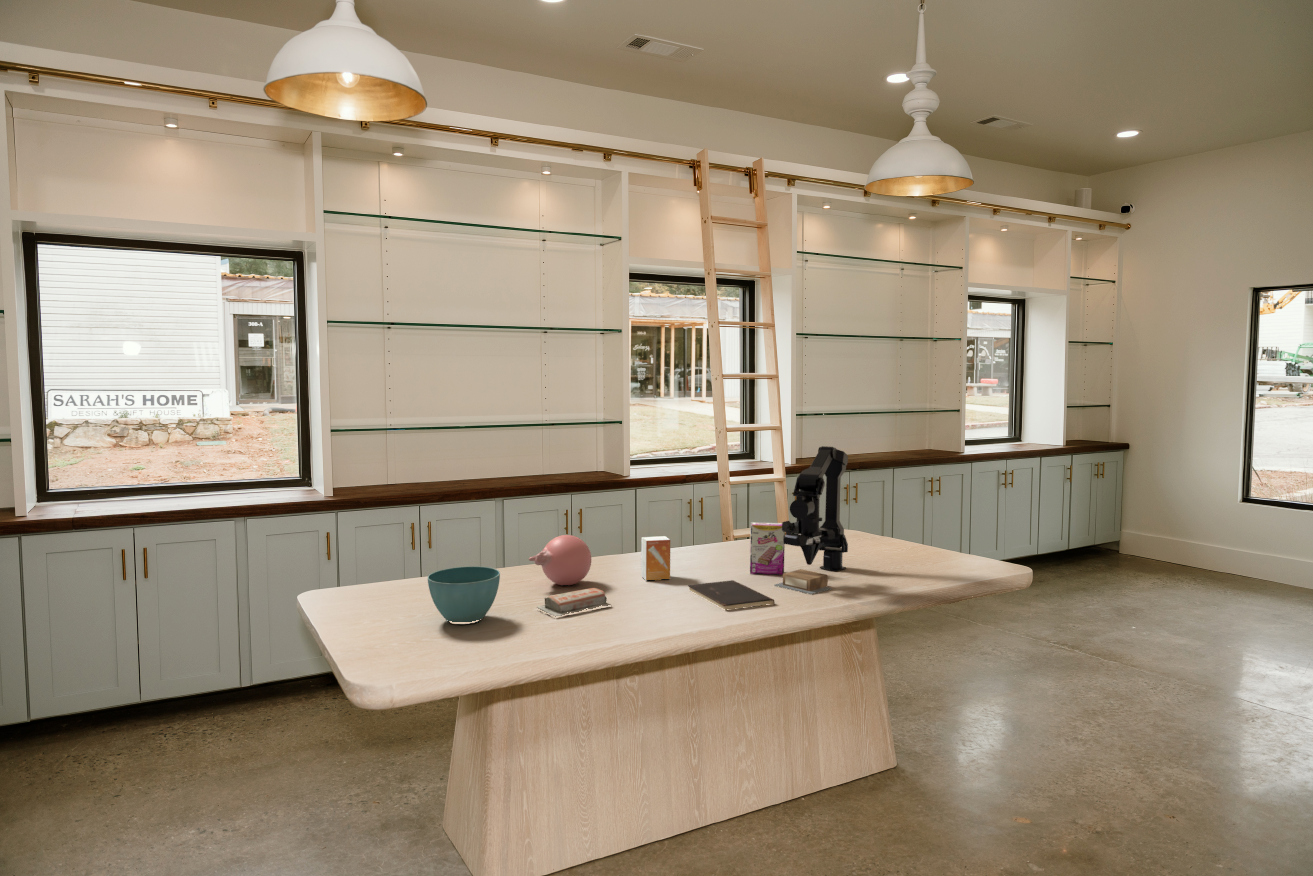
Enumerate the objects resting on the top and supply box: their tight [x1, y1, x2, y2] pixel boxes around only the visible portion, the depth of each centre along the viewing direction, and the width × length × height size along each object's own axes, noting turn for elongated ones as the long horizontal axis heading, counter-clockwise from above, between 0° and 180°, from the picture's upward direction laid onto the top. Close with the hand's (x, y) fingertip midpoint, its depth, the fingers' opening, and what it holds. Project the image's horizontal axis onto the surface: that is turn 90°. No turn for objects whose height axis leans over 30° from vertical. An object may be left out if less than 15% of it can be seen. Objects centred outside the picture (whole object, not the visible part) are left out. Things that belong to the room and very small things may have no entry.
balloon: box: [528, 534, 592, 586], centre depth 237 cm, size 15×20×15 cm
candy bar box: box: [749, 521, 786, 576], centre depth 253 cm, size 11×5×16 cm, turn 84°
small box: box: [640, 535, 671, 581], centre depth 246 cm, size 8×6×13 cm
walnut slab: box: [782, 568, 829, 591], centre depth 236 cm, size 4×10×9 cm
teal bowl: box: [427, 565, 501, 622], centre depth 201 cm, size 18×18×12 cm
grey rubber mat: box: [773, 582, 833, 595], centre depth 236 cm, size 10×14×1 cm
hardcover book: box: [687, 579, 775, 610], centre depth 224 cm, size 16×23×2 cm
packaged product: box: [536, 587, 612, 617], centre depth 212 cm, size 18×5×10 cm
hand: (809, 564), depth 237 cm, fingers closed
